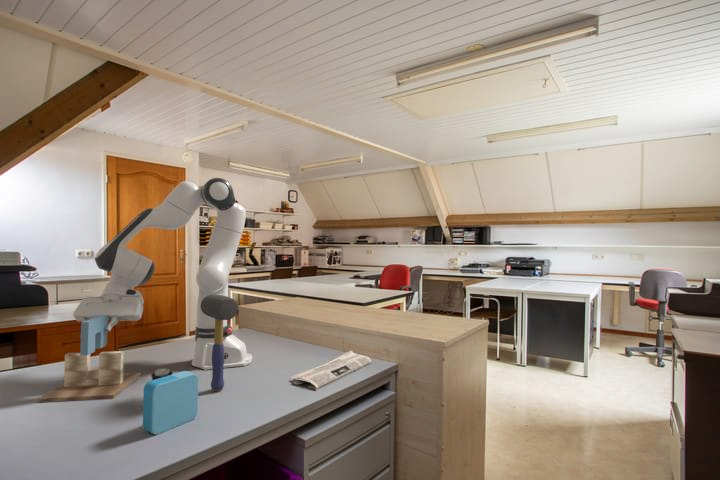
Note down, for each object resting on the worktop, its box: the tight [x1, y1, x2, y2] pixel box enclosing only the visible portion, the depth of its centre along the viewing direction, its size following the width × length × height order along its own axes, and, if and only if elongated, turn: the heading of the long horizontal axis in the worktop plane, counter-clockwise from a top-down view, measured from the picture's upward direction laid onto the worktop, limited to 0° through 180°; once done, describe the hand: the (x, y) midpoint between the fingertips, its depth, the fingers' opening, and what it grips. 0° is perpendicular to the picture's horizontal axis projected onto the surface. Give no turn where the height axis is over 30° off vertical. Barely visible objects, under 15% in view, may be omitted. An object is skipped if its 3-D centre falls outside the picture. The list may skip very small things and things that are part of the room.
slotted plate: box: [79, 315, 109, 356], centre depth 119 cm, size 12×2×10 cm, turn 10°
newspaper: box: [291, 350, 373, 391], centre depth 136 cm, size 35×12×4 cm, turn 147°
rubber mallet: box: [201, 295, 239, 392], centre depth 118 cm, size 12×8×30 cm, turn 49°
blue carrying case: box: [142, 370, 199, 436], centre depth 95 cm, size 12×4×12 cm, turn 147°
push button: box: [150, 367, 174, 381], centre depth 105 cm, size 7×5×10 cm
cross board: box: [36, 350, 142, 403], centre depth 119 cm, size 20×20×11 cm
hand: (101, 330), depth 123 cm, fingers closed on slotted plate, 2 cm apart
